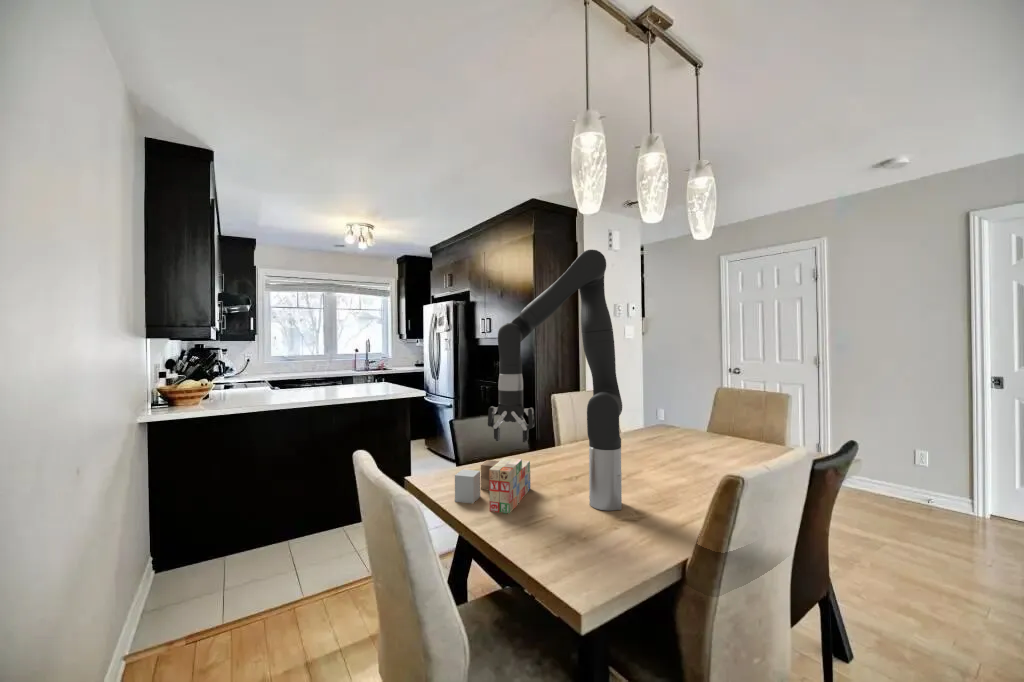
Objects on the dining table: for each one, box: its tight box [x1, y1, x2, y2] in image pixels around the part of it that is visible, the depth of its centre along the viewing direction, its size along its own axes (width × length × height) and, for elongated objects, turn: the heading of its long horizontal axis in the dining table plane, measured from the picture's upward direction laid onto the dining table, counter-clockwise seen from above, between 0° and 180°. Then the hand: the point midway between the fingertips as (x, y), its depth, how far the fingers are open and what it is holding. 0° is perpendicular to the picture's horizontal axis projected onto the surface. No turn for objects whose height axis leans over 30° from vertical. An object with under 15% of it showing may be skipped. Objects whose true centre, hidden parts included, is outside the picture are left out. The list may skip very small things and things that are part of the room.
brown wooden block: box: [480, 459, 500, 491], centre depth 139 cm, size 6×6×8 cm
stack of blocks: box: [488, 457, 531, 515], centre depth 128 cm, size 21×6×12 cm, turn 162°
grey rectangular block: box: [454, 469, 481, 504], centre depth 128 cm, size 6×6×8 cm
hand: (511, 441), depth 128 cm, fingers open, 8 cm apart
